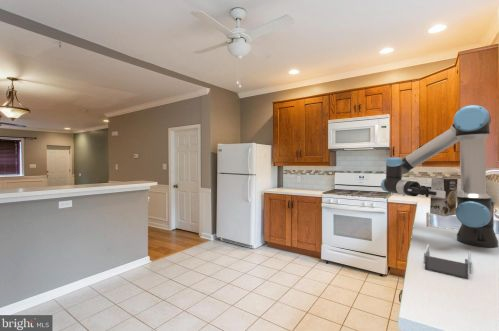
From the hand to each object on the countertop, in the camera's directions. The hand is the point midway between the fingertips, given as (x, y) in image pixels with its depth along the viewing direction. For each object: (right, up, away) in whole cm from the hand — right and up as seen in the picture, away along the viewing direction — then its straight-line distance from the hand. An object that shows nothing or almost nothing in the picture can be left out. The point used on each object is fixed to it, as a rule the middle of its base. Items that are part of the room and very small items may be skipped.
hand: (454, 194), depth 109 cm
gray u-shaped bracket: (-12, -26, -11) cm, 30 cm away
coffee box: (-1, -10, +4) cm, 11 cm away
